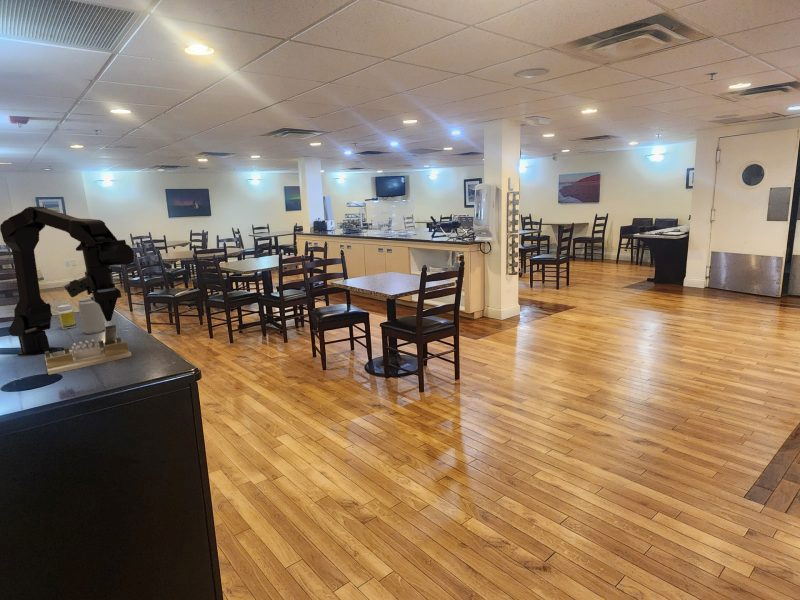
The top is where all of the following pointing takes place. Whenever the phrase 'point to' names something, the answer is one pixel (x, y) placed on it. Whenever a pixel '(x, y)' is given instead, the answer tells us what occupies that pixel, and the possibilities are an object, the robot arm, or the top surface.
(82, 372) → the top surface
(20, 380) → the top surface
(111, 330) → the strap
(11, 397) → the top surface
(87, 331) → the beverage can
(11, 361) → the top surface
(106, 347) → the heatsink board
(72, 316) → the supplement bottle
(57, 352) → the strap
